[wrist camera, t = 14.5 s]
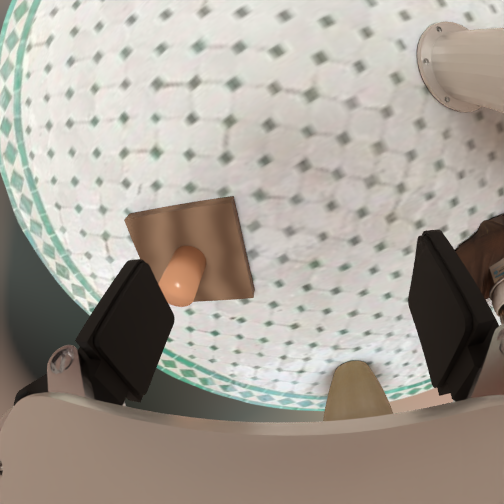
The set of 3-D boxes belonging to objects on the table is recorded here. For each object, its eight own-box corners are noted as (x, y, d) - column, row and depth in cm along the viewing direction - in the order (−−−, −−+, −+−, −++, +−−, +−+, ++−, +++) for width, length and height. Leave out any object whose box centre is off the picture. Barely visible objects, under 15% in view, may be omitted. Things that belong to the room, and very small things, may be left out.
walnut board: (233, 196, 38) (231, 202, 36) (254, 289, 47) (253, 297, 45) (130, 213, 41) (124, 219, 39) (164, 295, 49) (160, 303, 48)
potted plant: (519, 266, 42) (545, 375, 26) (448, 288, 52) (460, 400, 37) (527, 198, 31) (582, 331, 15) (438, 225, 41) (467, 372, 26)
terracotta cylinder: (200, 243, 40) (187, 275, 34) (210, 272, 43) (199, 305, 37) (168, 247, 41) (151, 278, 35) (179, 275, 44) (165, 307, 38)
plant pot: (304, 370, 58) (305, 437, 45) (364, 340, 52) (378, 412, 39) (340, 393, 63) (345, 450, 50) (393, 367, 57) (407, 428, 44)
